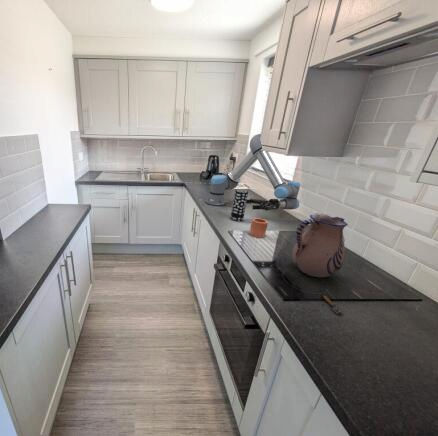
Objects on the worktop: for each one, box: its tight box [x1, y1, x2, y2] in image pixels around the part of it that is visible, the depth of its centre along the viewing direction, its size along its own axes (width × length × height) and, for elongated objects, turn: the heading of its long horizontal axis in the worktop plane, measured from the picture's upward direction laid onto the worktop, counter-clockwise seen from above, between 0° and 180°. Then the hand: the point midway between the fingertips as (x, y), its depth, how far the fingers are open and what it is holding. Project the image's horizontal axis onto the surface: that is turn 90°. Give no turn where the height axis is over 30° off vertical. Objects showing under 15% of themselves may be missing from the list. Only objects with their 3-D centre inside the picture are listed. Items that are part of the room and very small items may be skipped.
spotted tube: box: [229, 189, 249, 222], centre depth 156 cm, size 8×8×20 cm
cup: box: [249, 217, 269, 239], centre depth 135 cm, size 8×8×9 cm
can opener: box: [322, 294, 342, 315], centre depth 80 cm, size 9×2×1 cm, turn 170°
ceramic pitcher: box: [291, 212, 348, 278], centre depth 95 cm, size 18×21×25 cm
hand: (247, 204), depth 157 cm, fingers open, 13 cm apart
